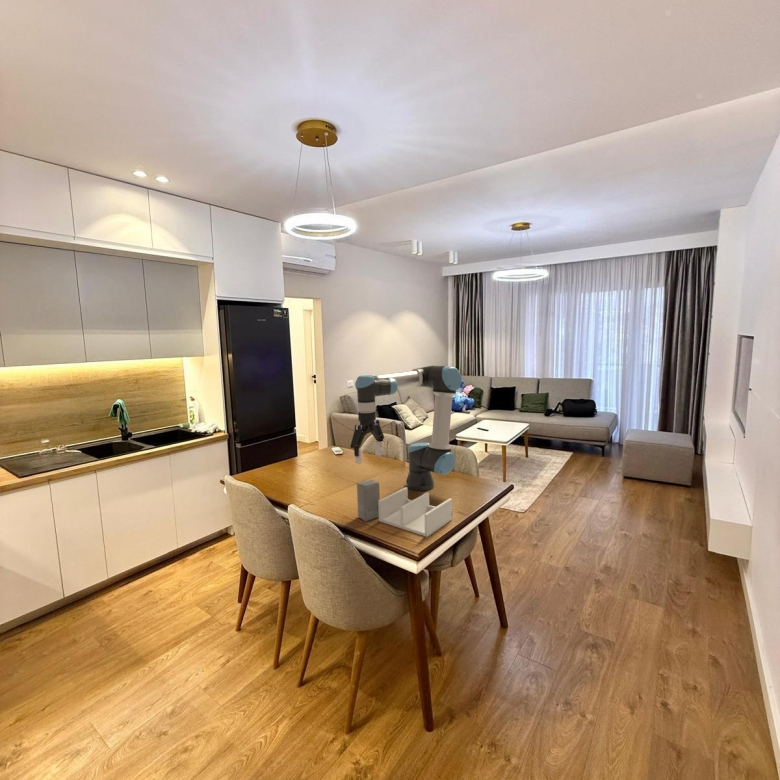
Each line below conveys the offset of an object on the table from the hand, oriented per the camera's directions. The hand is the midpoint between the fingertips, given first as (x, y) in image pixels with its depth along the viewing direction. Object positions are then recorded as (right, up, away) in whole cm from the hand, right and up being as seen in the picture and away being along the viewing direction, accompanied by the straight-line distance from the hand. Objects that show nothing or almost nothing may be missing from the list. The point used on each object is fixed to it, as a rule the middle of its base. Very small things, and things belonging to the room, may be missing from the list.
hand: (368, 459), depth 178 cm
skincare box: (0, -26, +4) cm, 27 cm away
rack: (+20, -26, -1) cm, 33 cm away
